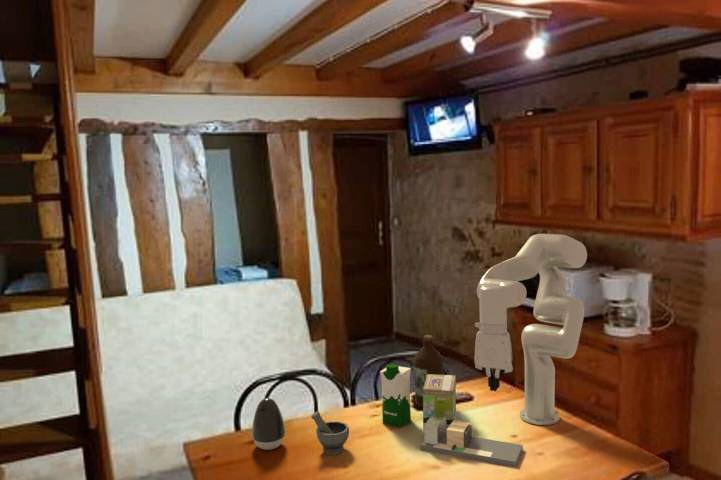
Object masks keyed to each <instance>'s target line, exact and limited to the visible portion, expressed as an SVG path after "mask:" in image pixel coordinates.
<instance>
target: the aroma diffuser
mask: <svg viewBox="0 0 721 480" xmlns="http://www.w3.org/2000/svg"><path fill="white" fill-rule="evenodd" d="M251 427H252V429H251V438H252V440H253V442H254V444H255V445H256V446H257V447H258V448H259V449H261V450H265V451H266V450H269V451H270V450H274V449H276V448H278V447H279V446H281V444H283V441H284V440H285V436H286V427H285V422H284V417H283V415H282V412H281V409H280V407H279V406H278V403H277V402H276V401H275V400H274V398H273V399H272V398H270V397H266V398H262V399H261V401H259V403H258V405H257V407H256V409H255V413H254V415H253V421H252V426H251Z"/></svg>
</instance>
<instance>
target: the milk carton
mask: <svg viewBox="0 0 721 480" xmlns="http://www.w3.org/2000/svg"><path fill="white" fill-rule="evenodd" d="M411 372H412V369H411V367H406V366H400V365H399V364H397V363H388V364H386V366H385V368H383V369H382V370H380V371H379V375H380V379H381V404H382V406H381V407H382V408H381V410H382V424H384V425H388V426H392V427H396V428H400V429H401V428H403V427H404V426H405V425H407V424H408V423H409V422H410V421H411V420H412V416H411V415H412V414H411V391H410V390H411V389H410V388H411V387H410V386H411V384H410V380H411Z"/></svg>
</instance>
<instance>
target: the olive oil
mask: <svg viewBox="0 0 721 480" xmlns="http://www.w3.org/2000/svg"><path fill="white" fill-rule="evenodd" d="M422 338H423V340H422V342H423V343H422V345H423V346H422V347H421V348H420V349H419V350H418V351H417V352H416V354H415V355H414V357H413V360H412V361H413V362H412V363H413V364H412V368H413V377H414V378H413V379H414V393H415V405H416V404H417V405H419V406H421V407H423V388H424V384H425V381H426V377H427V374H434V375H444V359H443V357H442V355H441V353H440V352H439V351H438V350H437V349H436V348H435V347H434V343H433V336H432V335H431V334H425V335H423V337H422ZM417 405H416V406H417Z"/></svg>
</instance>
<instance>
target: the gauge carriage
mask: <svg viewBox="0 0 721 480" xmlns="http://www.w3.org/2000/svg"><path fill="white" fill-rule="evenodd" d="M472 428H473V426H472V424H470V422H466V421H459V420H456V419H455V420H453V422H452V423H451V424H450V426H449V427H448V428H447V446H452V450H454V449H455V447H458V448H464V447H465V446H466V447H467V445H468V444H469V442H470V440H471V439H472V437H473V429H472Z"/></svg>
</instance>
